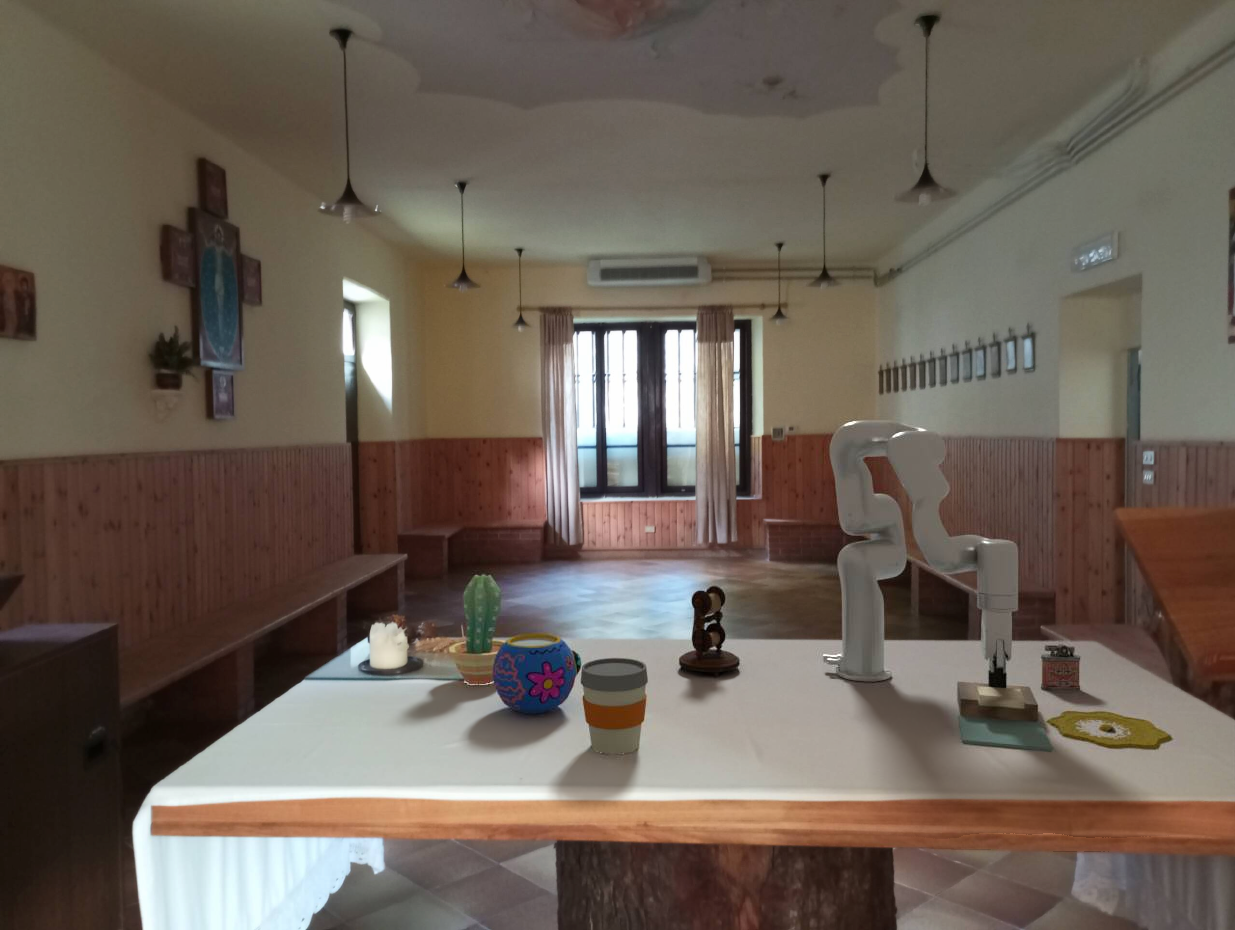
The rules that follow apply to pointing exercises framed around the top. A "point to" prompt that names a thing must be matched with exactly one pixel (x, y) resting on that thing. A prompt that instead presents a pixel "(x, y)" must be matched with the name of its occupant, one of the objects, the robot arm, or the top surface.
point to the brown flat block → (972, 708)
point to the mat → (1003, 733)
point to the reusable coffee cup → (614, 703)
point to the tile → (1000, 697)
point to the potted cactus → (479, 631)
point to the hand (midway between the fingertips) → (997, 690)
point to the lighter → (1060, 669)
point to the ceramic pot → (535, 672)
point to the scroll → (708, 635)
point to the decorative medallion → (1139, 728)
